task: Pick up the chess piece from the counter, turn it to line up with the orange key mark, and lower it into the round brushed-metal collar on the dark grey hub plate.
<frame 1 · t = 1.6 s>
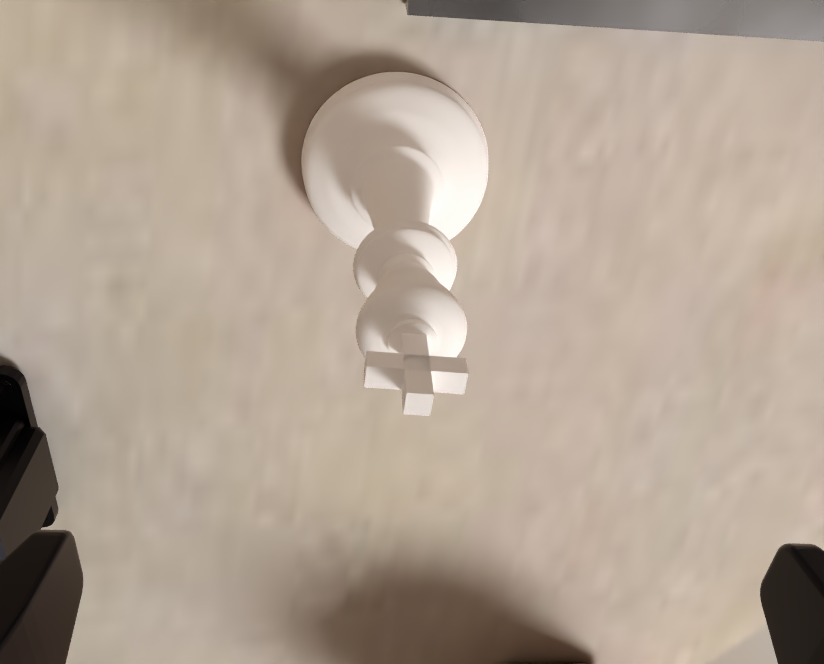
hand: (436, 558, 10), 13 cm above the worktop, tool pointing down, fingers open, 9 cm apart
chess piece: (395, 162, 21), on the worktop
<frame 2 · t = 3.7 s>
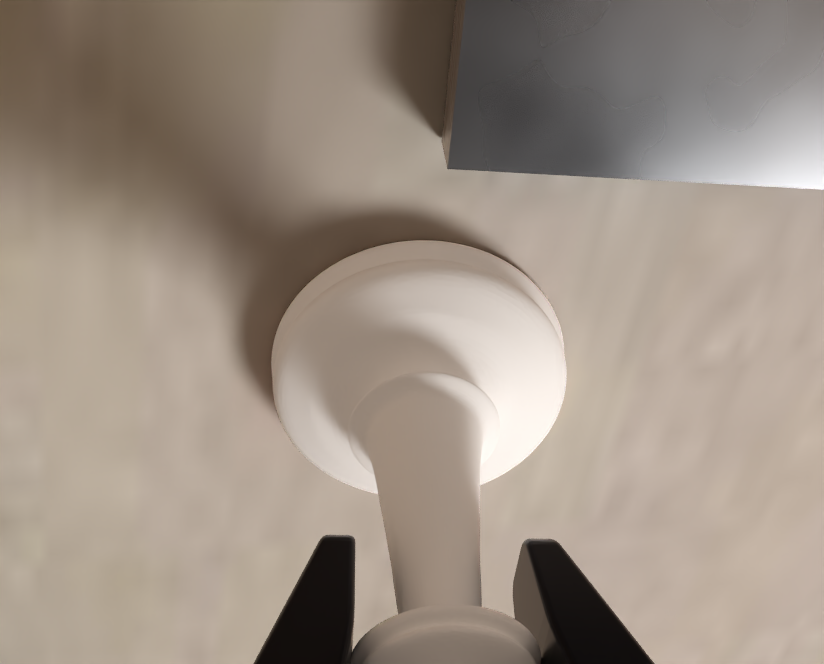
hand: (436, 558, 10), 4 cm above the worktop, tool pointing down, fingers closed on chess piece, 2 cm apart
chess piece: (417, 361, 13), on the worktop, touching gripper
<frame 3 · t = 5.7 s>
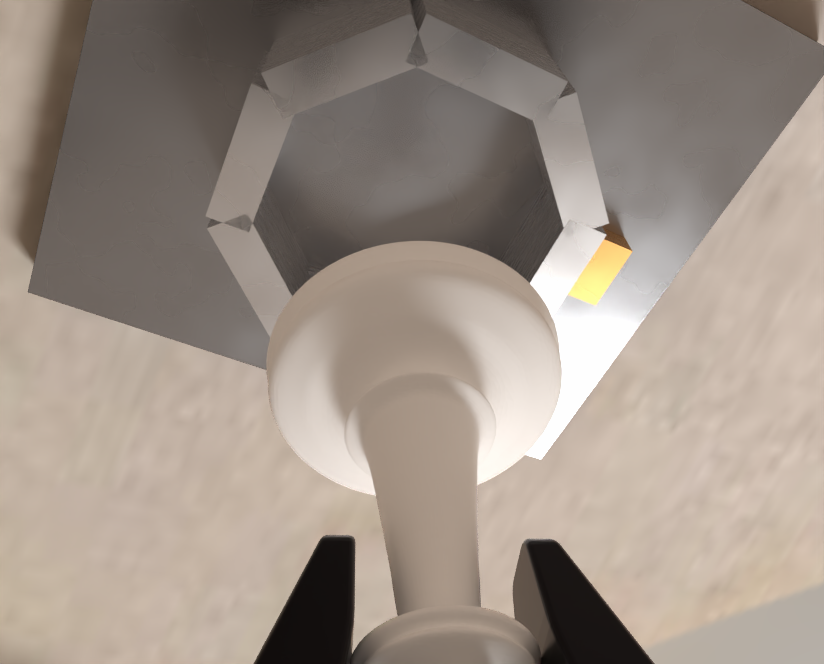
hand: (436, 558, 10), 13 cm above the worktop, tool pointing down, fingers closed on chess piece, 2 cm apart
hub: (404, 165, 21), on the worktop
chess piece: (413, 361, 13), point 9 cm above the worktop, touching gripper
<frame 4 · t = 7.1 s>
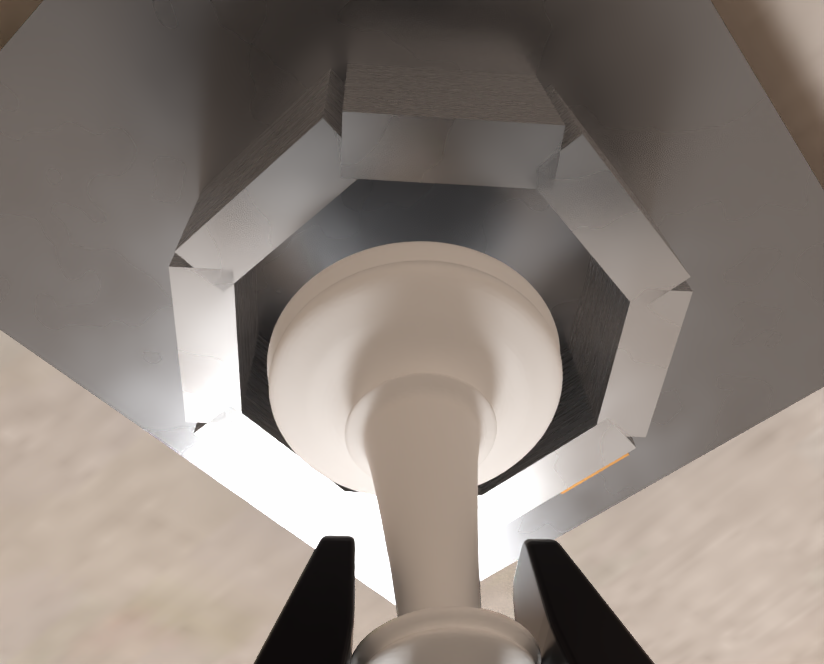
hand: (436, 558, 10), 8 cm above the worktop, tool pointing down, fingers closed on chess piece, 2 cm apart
hub: (419, 261, 16), on the worktop
chess piece: (413, 362, 13), point 4 cm above the worktop, touching gripper
when the fingers open (6 cm above the worktop, at t = 8.0 s): chess piece drops 1 cm, resting on hub.
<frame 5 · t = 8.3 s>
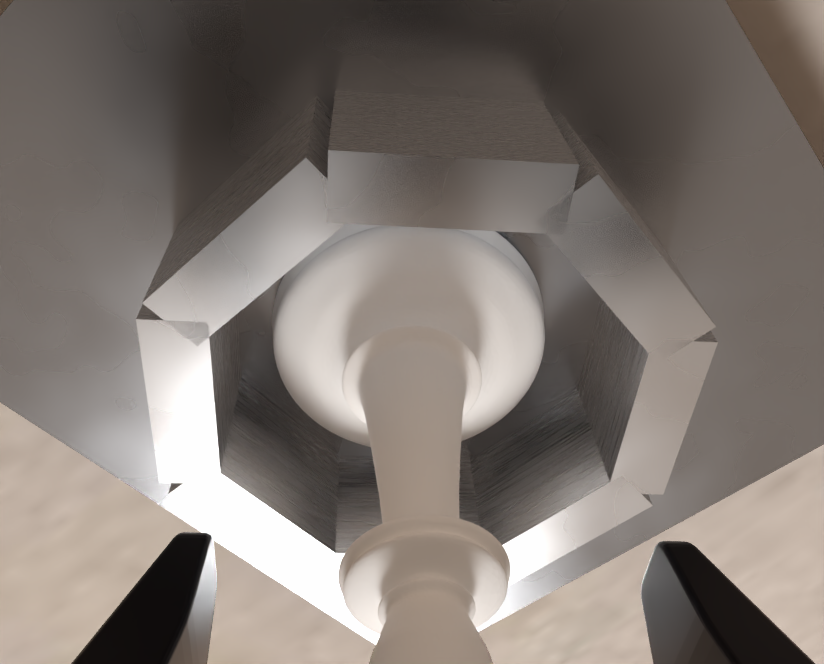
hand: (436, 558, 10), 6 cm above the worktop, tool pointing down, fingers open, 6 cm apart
hub: (415, 298, 15), on the worktop
chess piece: (408, 322, 14), point 1 cm above the worktop, touching hub
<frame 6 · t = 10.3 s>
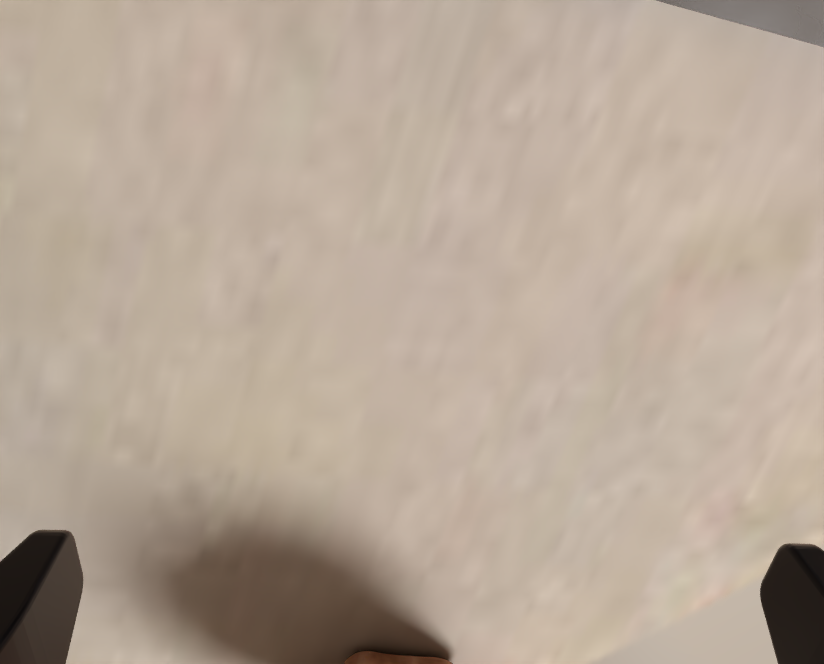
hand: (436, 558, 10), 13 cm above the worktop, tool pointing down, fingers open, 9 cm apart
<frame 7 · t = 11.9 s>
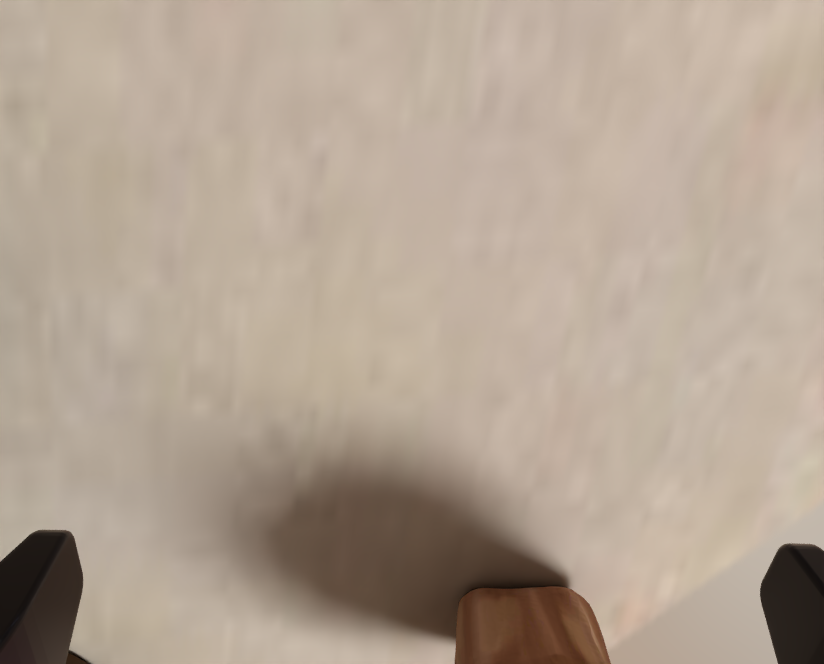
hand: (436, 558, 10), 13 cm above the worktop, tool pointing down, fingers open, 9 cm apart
cupcake: (514, 611, 32), on the worktop
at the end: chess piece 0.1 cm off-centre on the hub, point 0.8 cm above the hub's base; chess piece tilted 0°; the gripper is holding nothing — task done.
